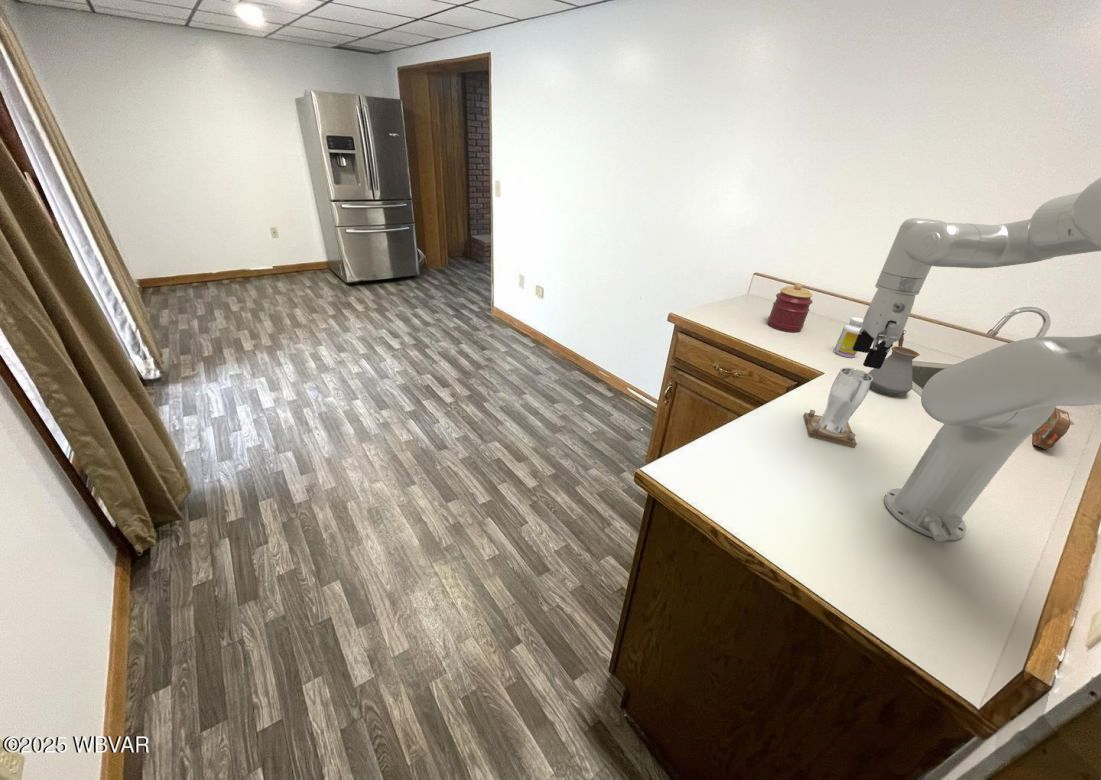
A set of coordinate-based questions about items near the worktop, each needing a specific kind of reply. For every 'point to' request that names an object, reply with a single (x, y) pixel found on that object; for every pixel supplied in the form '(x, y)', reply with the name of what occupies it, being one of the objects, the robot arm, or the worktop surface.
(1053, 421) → the brown snack package
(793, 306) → the canister
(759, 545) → the worktop surface
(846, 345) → the supplement bottle
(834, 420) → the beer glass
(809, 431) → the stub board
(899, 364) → the coffee pot
